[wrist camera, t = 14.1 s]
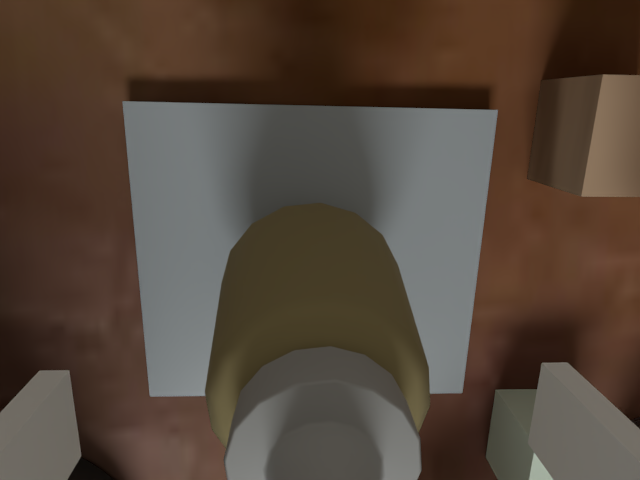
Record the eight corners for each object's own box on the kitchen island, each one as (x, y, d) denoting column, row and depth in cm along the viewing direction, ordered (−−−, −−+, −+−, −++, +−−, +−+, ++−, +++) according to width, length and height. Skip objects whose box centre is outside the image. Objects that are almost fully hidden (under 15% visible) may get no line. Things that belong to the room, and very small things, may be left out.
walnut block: (526, 178, 25) (581, 196, 20) (540, 80, 24) (602, 74, 19) (616, 179, 25) (691, 197, 20) (635, 82, 24) (720, 77, 19)
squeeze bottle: (236, 180, 23) (54, 408, 6) (396, 195, 24) (659, 441, 6) (229, 327, 25) (81, 805, 8) (375, 337, 26) (528, 804, 9)
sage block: (485, 456, 30) (520, 522, 25) (495, 388, 29) (535, 446, 24) (560, 454, 30) (609, 520, 26) (573, 388, 29) (629, 444, 24)
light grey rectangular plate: (154, 386, 27) (149, 396, 26) (129, 101, 23) (122, 101, 22) (456, 383, 28) (462, 393, 27) (489, 109, 24) (497, 109, 23)
